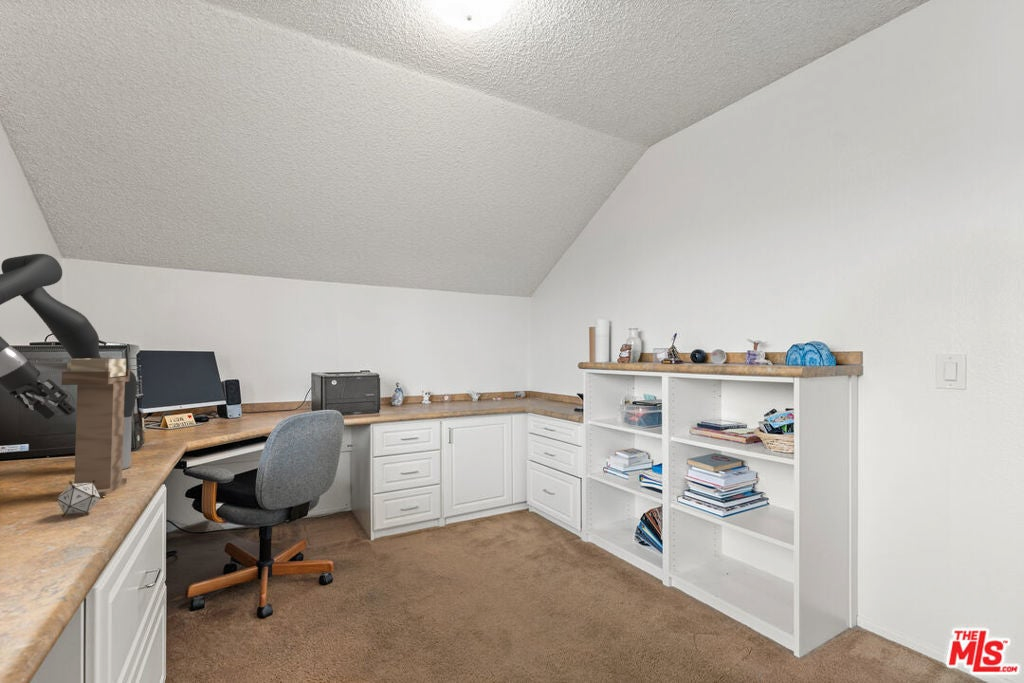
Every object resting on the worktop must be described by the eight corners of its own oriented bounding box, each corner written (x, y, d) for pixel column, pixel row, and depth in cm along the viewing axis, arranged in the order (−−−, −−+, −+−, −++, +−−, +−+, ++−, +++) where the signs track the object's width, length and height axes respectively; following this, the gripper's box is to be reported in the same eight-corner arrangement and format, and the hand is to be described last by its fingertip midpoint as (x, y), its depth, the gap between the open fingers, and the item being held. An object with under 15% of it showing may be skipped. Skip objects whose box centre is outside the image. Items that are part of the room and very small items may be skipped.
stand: (84, 486, 141) (88, 369, 142) (126, 483, 144) (129, 369, 145) (57, 501, 127) (61, 371, 128) (104, 497, 130) (108, 371, 131)
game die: (78, 532, 115) (64, 506, 110) (52, 517, 117) (37, 490, 111) (116, 504, 122) (105, 479, 117) (91, 490, 124) (79, 464, 119)
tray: (49, 375, 137) (50, 358, 137) (125, 375, 144) (126, 358, 144) (24, 378, 126) (25, 359, 126) (108, 377, 132) (108, 359, 132)
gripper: (41, 354, 119) (91, 402, 128) (6, 362, 124) (56, 408, 132) (11, 373, 113) (65, 422, 122) (-25, 381, 118) (30, 428, 126)
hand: (60, 415), depth 127 cm, fingers open, 8 cm apart
